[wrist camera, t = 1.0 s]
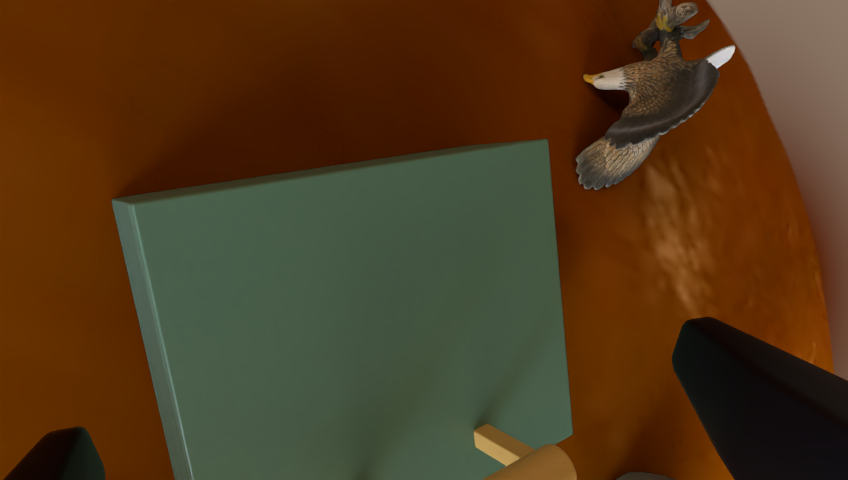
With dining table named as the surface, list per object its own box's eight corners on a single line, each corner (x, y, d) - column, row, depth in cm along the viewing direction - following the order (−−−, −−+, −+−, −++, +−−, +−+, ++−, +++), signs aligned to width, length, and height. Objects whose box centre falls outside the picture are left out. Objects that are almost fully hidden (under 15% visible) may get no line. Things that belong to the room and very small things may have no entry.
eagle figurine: (586, -27, 28) (562, 142, 25) (754, -40, 25) (744, 146, 23) (595, 65, 35) (577, 203, 32) (728, 61, 32) (718, 212, 30)
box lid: (561, 428, 25) (663, 477, 21) (219, 614, 17) (273, 750, 13) (535, 139, 22) (644, 129, 18) (127, 202, 15) (159, 210, 11)
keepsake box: (493, 382, 28) (559, 411, 25) (183, 519, 20) (213, 590, 17) (467, 145, 26) (534, 139, 22) (110, 198, 18) (126, 202, 15)
